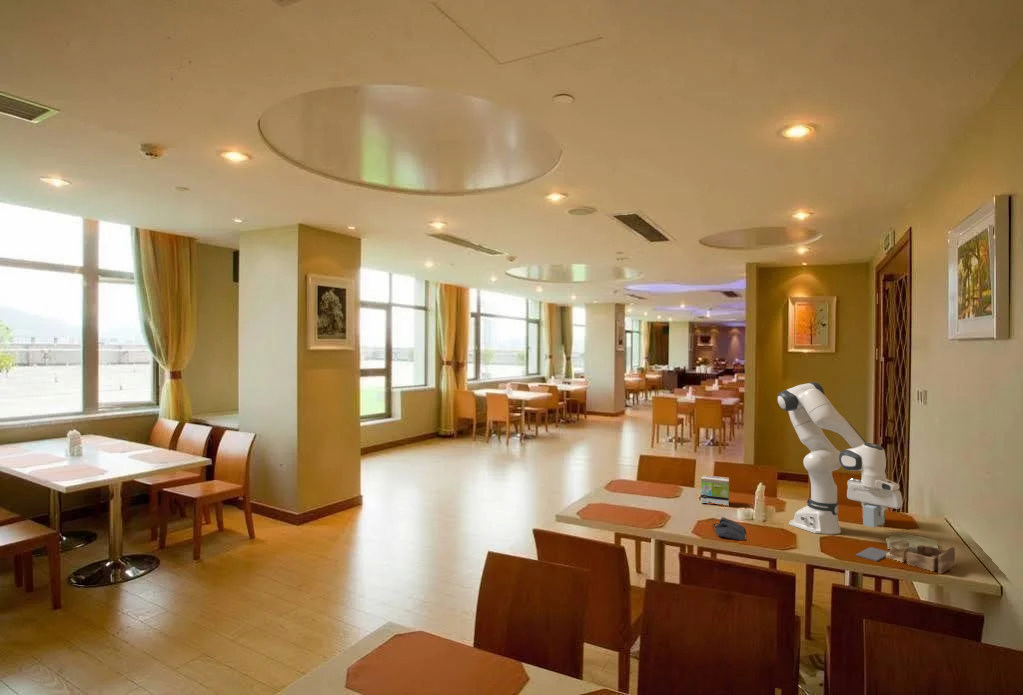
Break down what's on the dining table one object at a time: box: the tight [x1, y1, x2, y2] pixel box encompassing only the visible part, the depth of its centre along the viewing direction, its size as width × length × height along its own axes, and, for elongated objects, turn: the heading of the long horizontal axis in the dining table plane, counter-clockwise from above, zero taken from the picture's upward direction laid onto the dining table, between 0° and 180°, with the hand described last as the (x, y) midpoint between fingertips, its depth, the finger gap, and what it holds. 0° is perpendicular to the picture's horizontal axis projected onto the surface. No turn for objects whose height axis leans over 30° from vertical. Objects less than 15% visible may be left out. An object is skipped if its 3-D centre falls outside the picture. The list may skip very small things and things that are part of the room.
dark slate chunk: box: [712, 516, 747, 541], centre depth 262 cm, size 15×22×5 cm
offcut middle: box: [889, 547, 909, 557], centre depth 231 cm, size 5×8×2 cm, turn 132°
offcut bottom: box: [885, 551, 907, 563], centre depth 231 cm, size 6×10×2 cm, turn 127°
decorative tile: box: [885, 532, 939, 554], centre depth 243 cm, size 19×20×4 cm
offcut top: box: [890, 539, 909, 550], centre depth 231 cm, size 4×6×2 cm, turn 109°
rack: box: [906, 544, 956, 575], centre depth 223 cm, size 12×16×7 cm
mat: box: [855, 546, 889, 562], centre depth 234 cm, size 8×15×1 cm, turn 126°
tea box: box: [700, 474, 730, 506], centre depth 312 cm, size 15×10×15 cm
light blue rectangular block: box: [862, 504, 886, 528], centre depth 234 cm, size 4×11×8 cm, turn 126°
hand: (873, 514), depth 234 cm, fingers closed on light blue rectangular block, 4 cm apart
